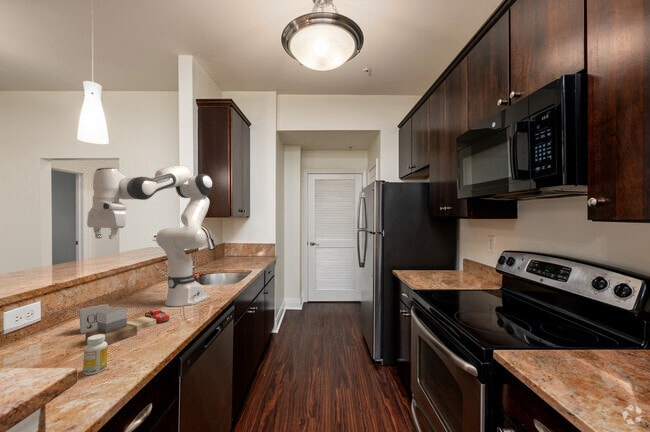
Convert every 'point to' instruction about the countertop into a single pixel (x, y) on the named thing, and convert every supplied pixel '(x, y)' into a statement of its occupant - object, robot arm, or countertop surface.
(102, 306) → the electrical switch
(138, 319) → the oak riser
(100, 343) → the supplement bottle
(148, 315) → the race car
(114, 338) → the walnut stand
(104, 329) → the housing
